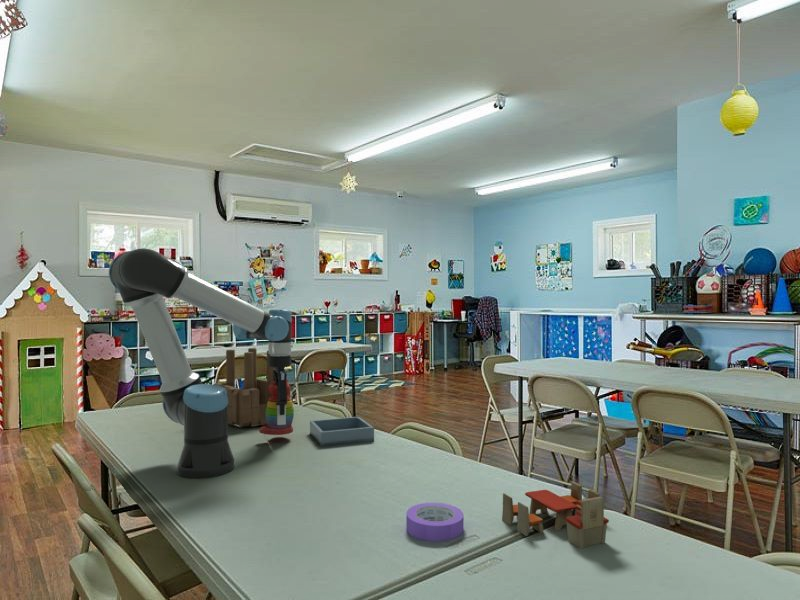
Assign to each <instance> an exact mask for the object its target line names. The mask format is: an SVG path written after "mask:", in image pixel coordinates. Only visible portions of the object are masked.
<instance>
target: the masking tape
mask: <svg viewBox="0 0 800 600" xmlns="http://www.w3.org/2000/svg"><path fill="white" fill-rule="evenodd" d="M405 516H406V526H405V529H406V532H407V534H409V535H410V536H412V537H414V538H415V539H419V540H423V541H431V542H439V541H440V542H442V541H448V540H452V539H455V538H458V537H459V536H461V535H462V534H463V532H464V518H465V517H464V512H463V511H462V509H460V508H458V507H457V506H456V505H452V504H450V503H449V504H448V503H443V502H423V503H418V504H415V505H413V506H411V507H409V508H408V509H407V510H406V515H405Z"/></svg>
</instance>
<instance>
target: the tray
mask: <svg viewBox="0 0 800 600" xmlns="http://www.w3.org/2000/svg"><path fill="white" fill-rule="evenodd" d="M309 434H310V435H311V436H312V437H313V439H314V440H315V441H316V443H317V444H318V445H319V446H320V447H328V446H337V445H338V446H339V445H348V444H356V443H365V442H375V427H374V425H373V426H372V424H371V423H368V422H367V421H366V420H364V419H363V418H361V417H360V416H350V417H340V418H338V417H337V418H328V419H316V420H309Z"/></svg>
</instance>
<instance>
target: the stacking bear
mask: <svg viewBox="0 0 800 600" xmlns="http://www.w3.org/2000/svg"><path fill="white" fill-rule="evenodd" d="M286 383H287V404H286V425H277V405H276V403H278V392H277V386H276V385H275V380H274V381H273V382H272V383H271V385H270V386H269V392H270V394H271V395H272V396H271V397H270V398H269V401H268V403H267V407H266V412H265V413H266V422H267V424H266V425H262V426H261V427H260V428H259V433H260V434H262V435H267V436H268V435H269V436H270V435H271V436H282V435H288V434H291V433H293V432H294V427H293V425H292V424H293V419H294V418H295V417H294V416H295V409H294V408H295V407H294V403H293V400H292V398H290V397H289V396H288V394H289V391H290V389H291V386H290V383H289V380H288V379H287V378H286Z"/></svg>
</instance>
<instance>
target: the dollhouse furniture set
mask: <svg viewBox="0 0 800 600" xmlns="http://www.w3.org/2000/svg"><path fill="white" fill-rule="evenodd" d="M587 494H588V495H587V498H585V499H584V498H583V485H582V484H579V483H577V482H576V481H572V482H571V485H570V494H569V495H568V494H567V495H561V496H560V495H558V494H556V493H555V492H552V491H550V490H548V489H539V490H534V491H528V492H525V493H524V496H526V497H528V498H530V499H531V500H530V506H529V507H528V506H527V505H525V504H523V503H522V502H517V504H514V503H513V502H514V501H513V497H511V495H508V494H506V493H504V492H503V494H502V513H501V521H502V522H504V523H505V524H506V525H508V526H512V525H513V522H514V518H515V516H516V518H517V527H516V528H517V529H516V531H518V532H519V533H520V534H523V536H525V537H528V536H529V534H530V528H532V529H534V530H535V531H538V532H539V533H541V534H543V533H544V525H543V524H544V523H543V521H544V520H543V518H541V517H540V516H538V515H536V514H537V511H539V510H540V513H543V514H544V513H548V512H549V511H548V510H550V511H552V512H554V513H556V514H555V521H554V530H556V531H559V530H562V528H563V527H564V526H565V527H566V530H567V531H566V533H567V541H568V543H571V544H573V545H574V546H576V547H577V548H580V549H583V548H585V547H589V546H593V545H598V544H605V543H606V537H607V536H606V535H607V528H608V527H607V526H608V523H609V522H610V520H609V519H608V518H607V517H605V516H604V515H605V514H604V513H605V497H603V496H600V492H596V491H595V490H593V489H592V488H591V489H588V492H587ZM573 510H575V511H574V515H573V512H572V511H573Z"/></svg>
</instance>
